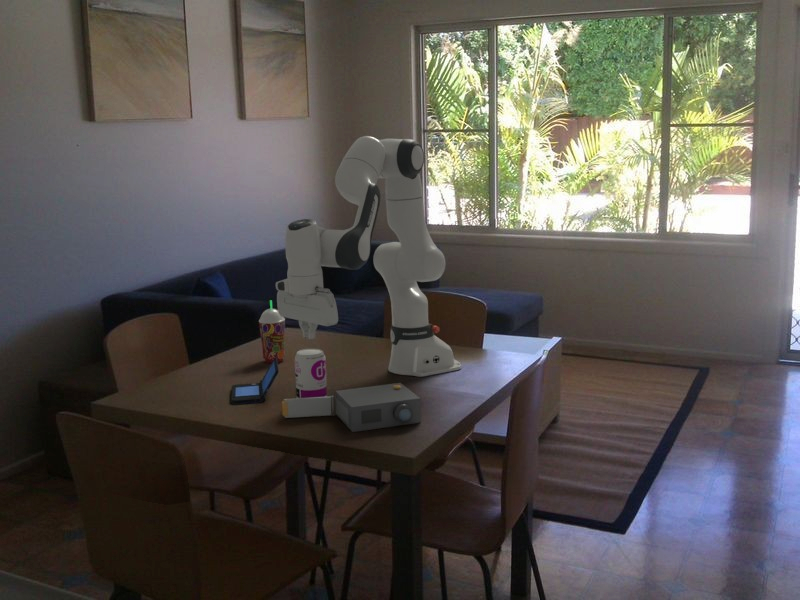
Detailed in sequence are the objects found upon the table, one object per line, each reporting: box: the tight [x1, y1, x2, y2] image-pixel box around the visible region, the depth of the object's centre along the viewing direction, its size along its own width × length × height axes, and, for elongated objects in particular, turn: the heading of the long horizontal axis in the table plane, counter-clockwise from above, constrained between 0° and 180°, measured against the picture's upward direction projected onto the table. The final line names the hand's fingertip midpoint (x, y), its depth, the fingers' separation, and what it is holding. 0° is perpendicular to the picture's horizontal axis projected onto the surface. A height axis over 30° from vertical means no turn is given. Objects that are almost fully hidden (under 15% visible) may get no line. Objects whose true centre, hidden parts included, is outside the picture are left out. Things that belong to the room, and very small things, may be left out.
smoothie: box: [258, 299, 286, 364], centre depth 288 cm, size 8×8×20 cm
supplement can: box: [294, 348, 328, 398], centre depth 241 cm, size 8×8×15 cm
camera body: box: [334, 382, 422, 433], centre depth 229 cm, size 18×17×7 cm
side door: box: [281, 395, 336, 419], centre depth 233 cm, size 1×13×5 cm, turn 96°
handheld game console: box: [230, 357, 280, 405], centre depth 253 cm, size 16×13×9 cm
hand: (309, 338), depth 229 cm, fingers closed
